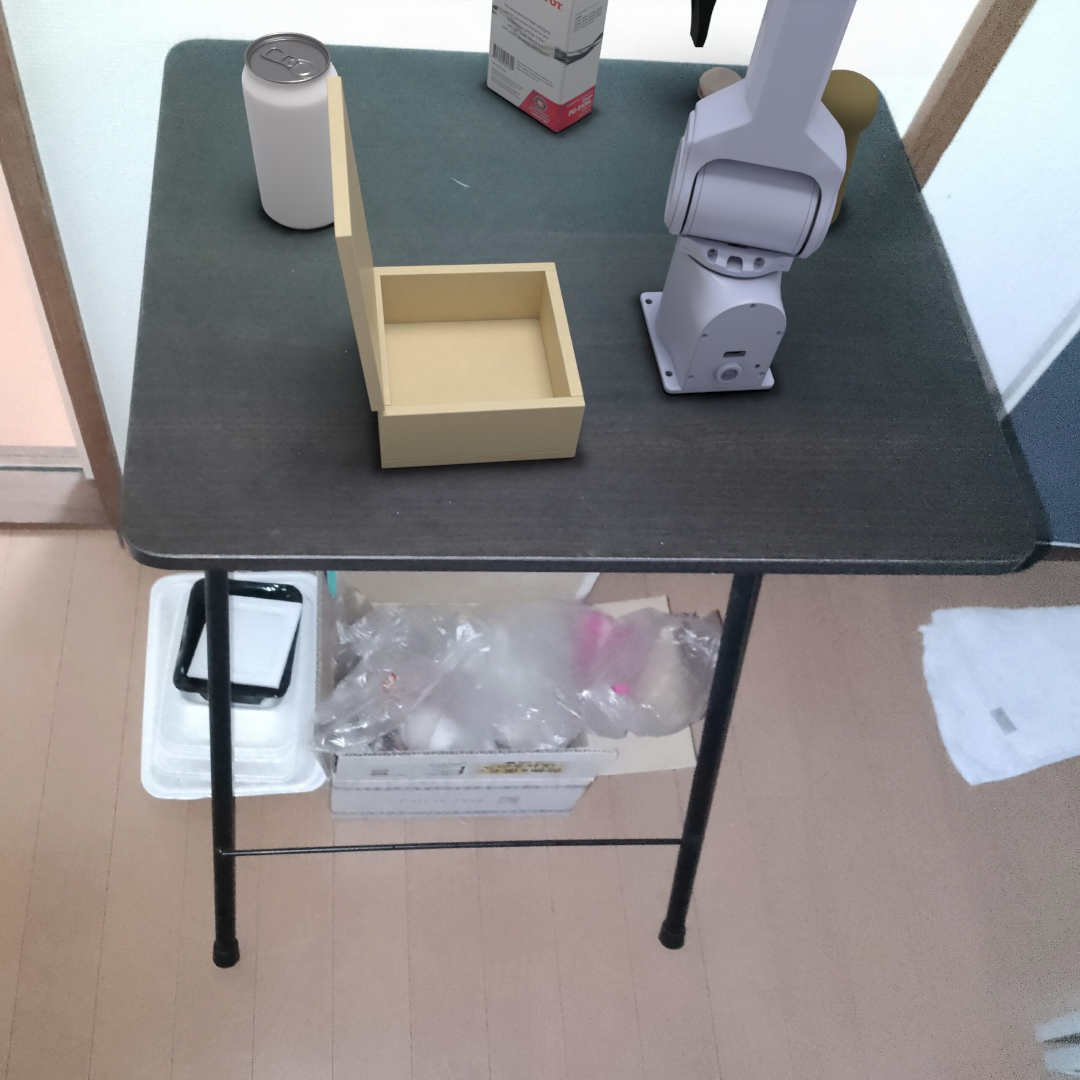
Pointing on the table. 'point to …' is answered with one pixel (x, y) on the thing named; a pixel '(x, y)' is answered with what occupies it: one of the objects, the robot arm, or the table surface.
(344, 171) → the box lid
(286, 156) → the can
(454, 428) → the beige box
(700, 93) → the clam shell
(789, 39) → the robot arm
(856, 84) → the cork
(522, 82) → the ink box
